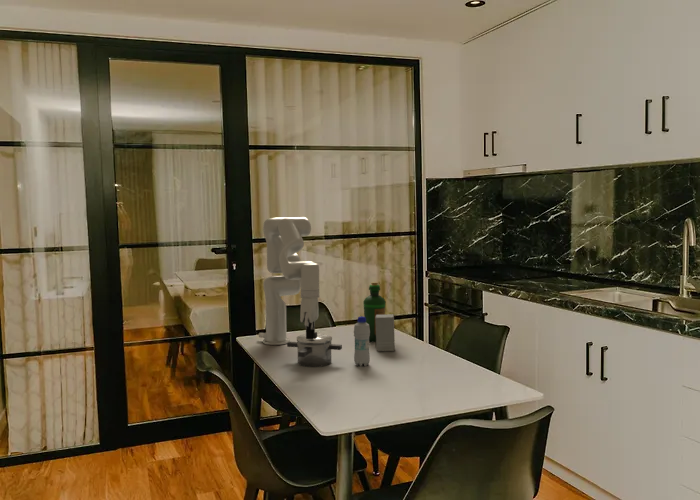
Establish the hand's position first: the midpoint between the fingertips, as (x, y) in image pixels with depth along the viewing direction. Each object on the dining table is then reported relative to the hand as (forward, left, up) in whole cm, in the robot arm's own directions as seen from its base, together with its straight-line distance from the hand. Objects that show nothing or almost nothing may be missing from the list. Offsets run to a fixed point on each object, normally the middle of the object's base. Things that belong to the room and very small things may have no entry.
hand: (310, 338), depth 247 cm
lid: (0, +5, -2) cm, 5 cm away
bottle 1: (+20, +6, -11) cm, 24 cm away
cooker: (0, +1, -11) cm, 11 cm away
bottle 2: (+15, +51, -11) cm, 54 cm away
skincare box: (+24, +33, -11) cm, 42 cm away
